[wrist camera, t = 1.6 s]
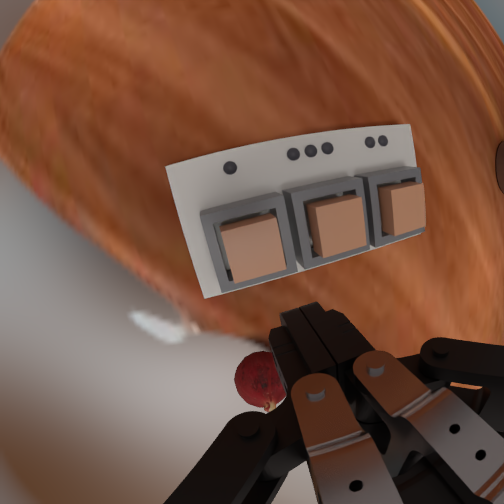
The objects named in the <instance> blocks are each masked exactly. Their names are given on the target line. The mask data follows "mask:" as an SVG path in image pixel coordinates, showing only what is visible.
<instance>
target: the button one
mask: <svg viewBox="0 0 504 504" xmlns="http://www.w3.org/2000/svg"><path fill="white" fill-rule="evenodd" d="M219 228H220V232H221V235H222V239H223V243H224V247H225V250H226V254H227V258H228V261H229V265H230V269H231V272H232V276H233V279H234V283H235V284H236V283H239V282H243V281H246V280H250V279H254V278H257V277H261V276H264V275H268V274H271V273H275V272H278V271H282V270H285V269H287V268H286V263H285V258H284V253H283V248H282V243H281V238H280V233H279V228H278V223H277V218H276V217H275V216H273V215H272V214H271V213H267V214H264V215H260V216H256V217H252V218H248V219H244V220H240V221H236V222H233V223H229V224H225V225H221V226H219Z"/></svg>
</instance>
